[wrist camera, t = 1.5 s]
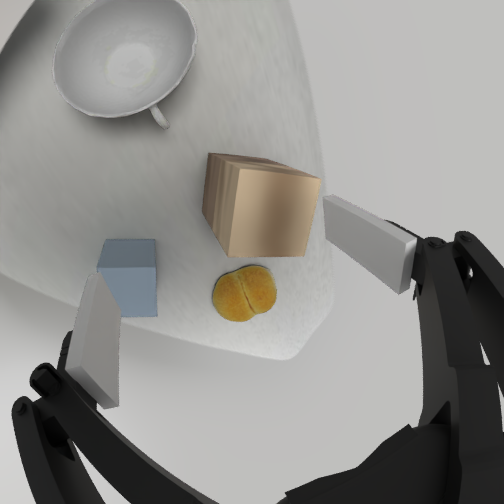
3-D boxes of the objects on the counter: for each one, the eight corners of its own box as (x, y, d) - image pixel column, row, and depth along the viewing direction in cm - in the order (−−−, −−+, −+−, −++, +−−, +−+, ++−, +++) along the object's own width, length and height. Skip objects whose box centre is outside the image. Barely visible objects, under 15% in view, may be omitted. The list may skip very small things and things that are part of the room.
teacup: (59, 56, 18) (33, 39, 11) (159, 0, 19) (164, -33, 12) (114, 160, 26) (101, 171, 19) (214, 102, 27) (234, 95, 20)
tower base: (201, 211, 32) (212, 230, 27) (208, 152, 29) (220, 158, 24) (257, 214, 35) (276, 231, 30) (266, 158, 32) (288, 166, 27)
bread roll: (202, 280, 36) (208, 297, 33) (264, 254, 38) (276, 268, 34) (222, 322, 41) (229, 340, 37) (276, 299, 42) (287, 314, 39)
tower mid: (212, 230, 27) (227, 257, 22) (220, 158, 24) (240, 168, 19) (277, 231, 30) (304, 256, 24) (289, 166, 27) (321, 179, 22)
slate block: (109, 283, 32) (103, 317, 26) (106, 239, 29) (96, 267, 23) (154, 282, 34) (157, 316, 28) (154, 239, 32) (155, 267, 26)
